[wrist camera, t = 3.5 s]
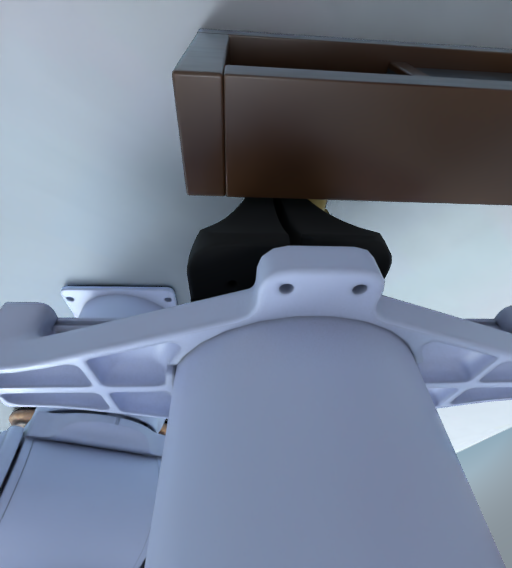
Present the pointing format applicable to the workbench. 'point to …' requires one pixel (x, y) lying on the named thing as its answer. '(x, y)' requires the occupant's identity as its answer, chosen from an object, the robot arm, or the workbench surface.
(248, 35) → the window frame
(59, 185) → the workbench surface
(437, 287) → the workbench surface
